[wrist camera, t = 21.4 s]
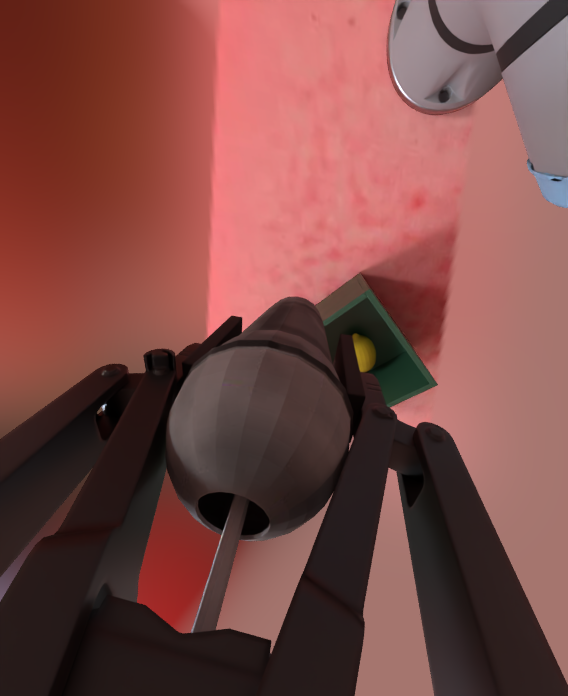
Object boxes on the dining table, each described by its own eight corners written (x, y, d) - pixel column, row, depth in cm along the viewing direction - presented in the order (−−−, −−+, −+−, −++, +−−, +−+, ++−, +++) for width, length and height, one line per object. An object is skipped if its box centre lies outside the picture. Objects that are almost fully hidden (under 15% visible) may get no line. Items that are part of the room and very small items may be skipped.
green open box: (359, 272, 42) (369, 288, 31) (413, 348, 46) (438, 385, 36) (281, 330, 49) (268, 359, 38) (334, 391, 53) (335, 432, 43)
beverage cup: (347, 284, 19) (828, 1548, 1) (330, 367, 22) (353, 978, 4) (253, 273, 19) (-600, 825, 2) (250, 355, 23) (-28, 831, 5)
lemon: (359, 342, 39) (368, 383, 42) (377, 327, 42) (385, 366, 45) (332, 339, 44) (342, 377, 47) (350, 325, 46) (359, 362, 49)
